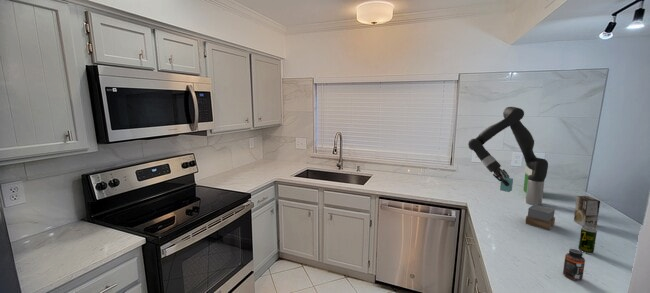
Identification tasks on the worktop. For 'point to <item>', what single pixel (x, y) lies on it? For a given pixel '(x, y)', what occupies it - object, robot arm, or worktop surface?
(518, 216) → the worktop surface
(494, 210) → the worktop surface
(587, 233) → the beer can
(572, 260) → the supplement bottle
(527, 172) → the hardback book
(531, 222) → the tower bottom
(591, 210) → the coffee box
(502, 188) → the teal block
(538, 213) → the tower top
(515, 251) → the worktop surface
